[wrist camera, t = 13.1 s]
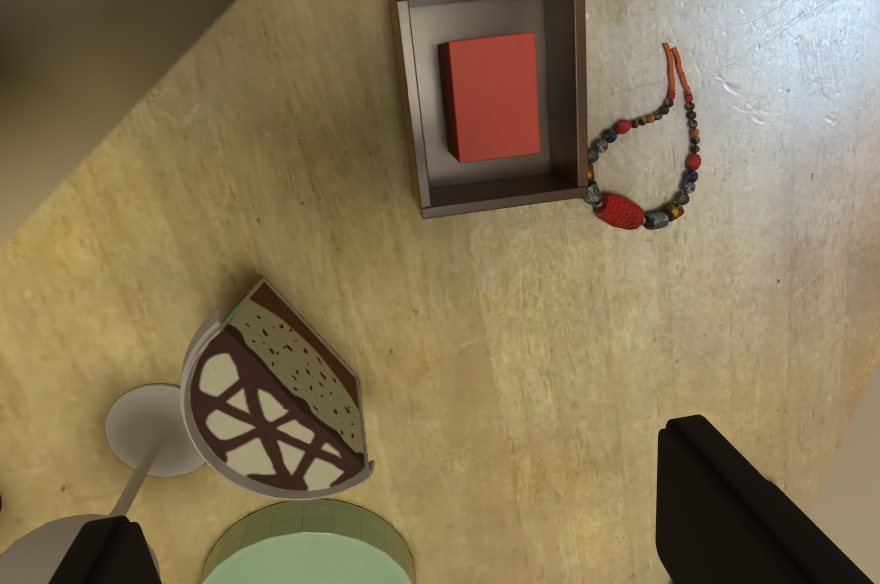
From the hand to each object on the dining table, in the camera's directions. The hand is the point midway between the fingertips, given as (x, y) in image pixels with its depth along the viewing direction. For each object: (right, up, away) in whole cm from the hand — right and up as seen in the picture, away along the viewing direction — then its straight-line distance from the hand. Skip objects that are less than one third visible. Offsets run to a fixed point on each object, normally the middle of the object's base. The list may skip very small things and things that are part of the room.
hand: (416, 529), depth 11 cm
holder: (+3, +16, +25) cm, 30 cm away
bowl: (-10, -18, +36) cm, 42 cm away
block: (+3, +16, +24) cm, 29 cm away
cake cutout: (-10, 0, +29) cm, 31 cm away
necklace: (+14, +14, +27) cm, 33 cm away
